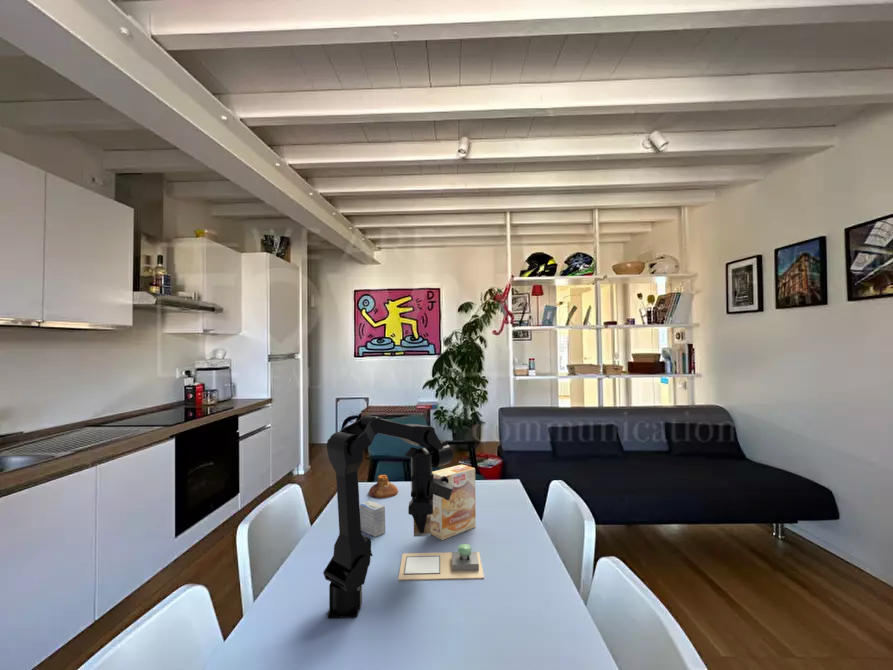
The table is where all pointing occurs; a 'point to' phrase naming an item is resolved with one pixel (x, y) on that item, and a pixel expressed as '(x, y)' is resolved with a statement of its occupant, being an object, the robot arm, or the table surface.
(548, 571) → the table surface
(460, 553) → the button
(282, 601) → the table surface
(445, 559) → the tan rectangular board
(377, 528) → the medicine box
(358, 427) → the robot arm
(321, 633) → the table surface
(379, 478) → the bell
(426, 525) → the block
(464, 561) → the button housing
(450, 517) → the coffeecake box
